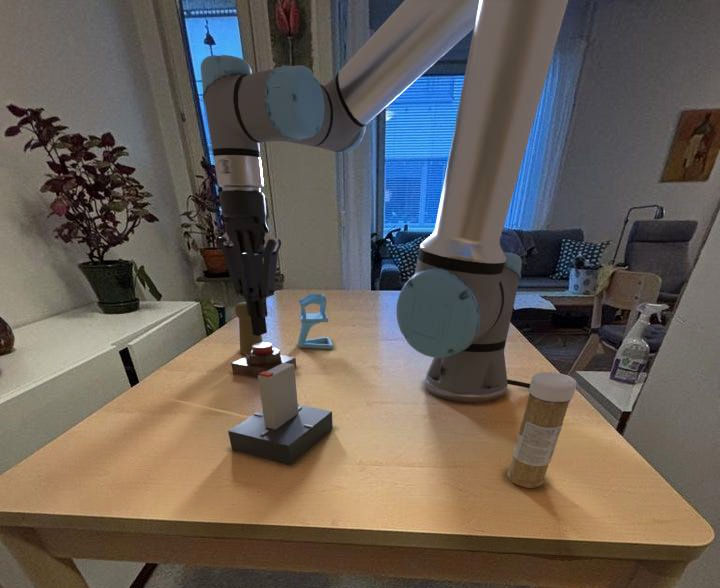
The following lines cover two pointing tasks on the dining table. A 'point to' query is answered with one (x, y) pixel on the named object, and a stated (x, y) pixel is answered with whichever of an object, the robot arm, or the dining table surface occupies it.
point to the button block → (260, 362)
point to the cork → (245, 329)
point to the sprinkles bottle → (540, 427)
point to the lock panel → (281, 435)
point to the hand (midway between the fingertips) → (260, 333)
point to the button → (262, 348)
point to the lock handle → (278, 395)
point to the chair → (313, 322)
